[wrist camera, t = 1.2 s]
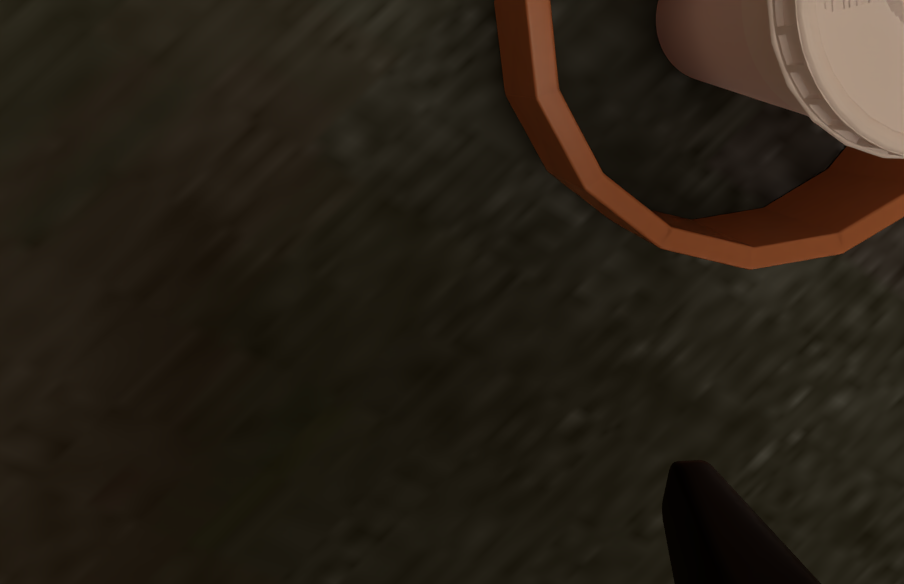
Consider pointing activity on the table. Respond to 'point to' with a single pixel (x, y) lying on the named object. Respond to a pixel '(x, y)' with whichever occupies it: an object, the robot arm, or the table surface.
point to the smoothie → (800, 60)
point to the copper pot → (712, 238)
